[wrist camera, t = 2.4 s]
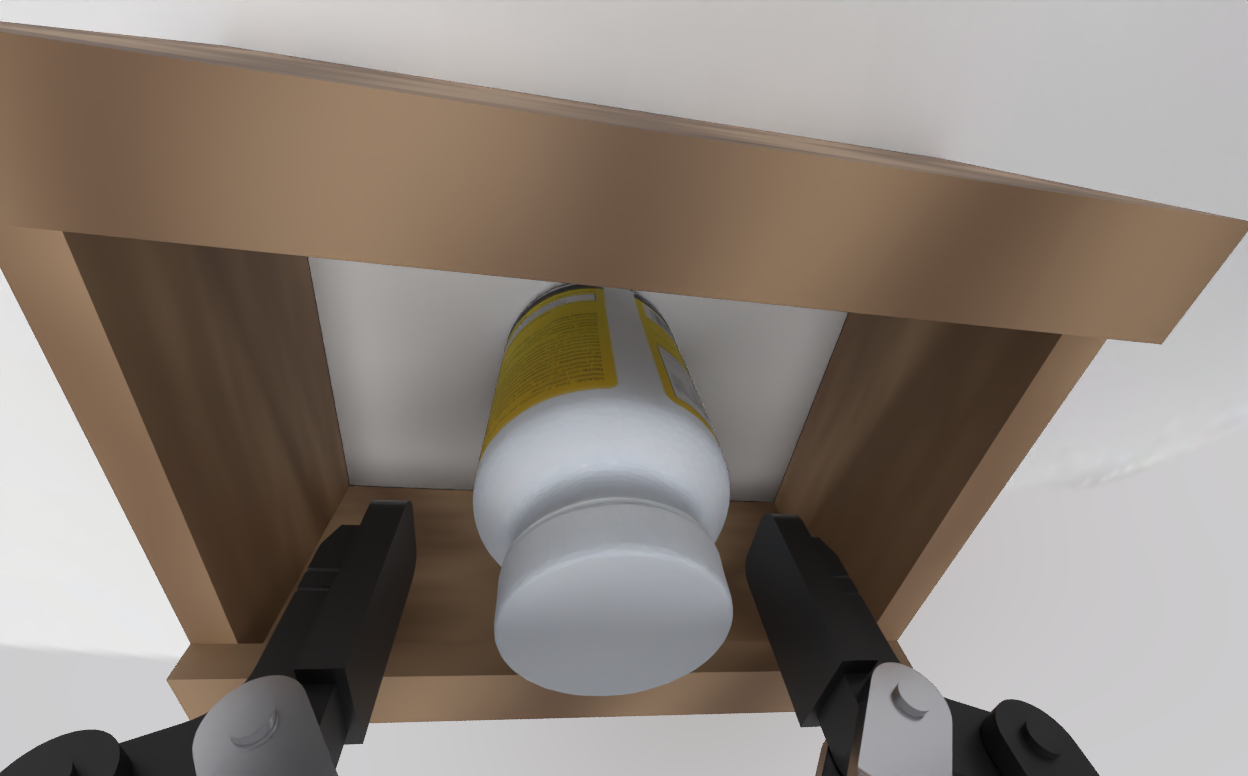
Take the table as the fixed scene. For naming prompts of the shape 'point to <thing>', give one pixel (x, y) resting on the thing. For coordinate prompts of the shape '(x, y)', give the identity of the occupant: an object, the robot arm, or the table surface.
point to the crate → (538, 250)
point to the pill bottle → (602, 499)
